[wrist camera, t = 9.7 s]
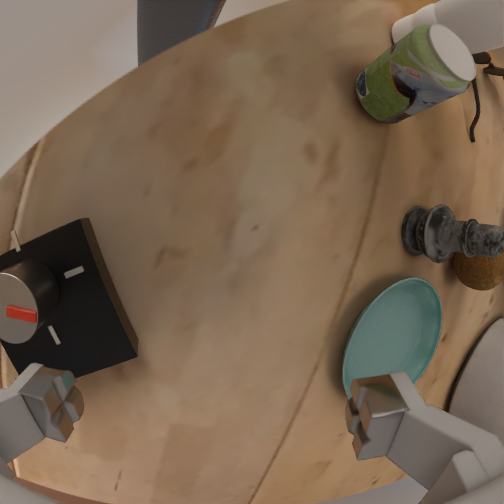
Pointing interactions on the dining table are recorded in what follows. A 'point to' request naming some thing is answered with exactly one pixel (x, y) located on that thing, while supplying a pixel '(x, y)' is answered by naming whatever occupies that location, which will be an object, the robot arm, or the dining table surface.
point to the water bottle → (460, 22)
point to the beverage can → (416, 74)
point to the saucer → (394, 333)
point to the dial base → (74, 305)
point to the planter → (482, 383)
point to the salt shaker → (448, 235)
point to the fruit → (479, 270)
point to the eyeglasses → (491, 69)
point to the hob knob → (26, 299)
